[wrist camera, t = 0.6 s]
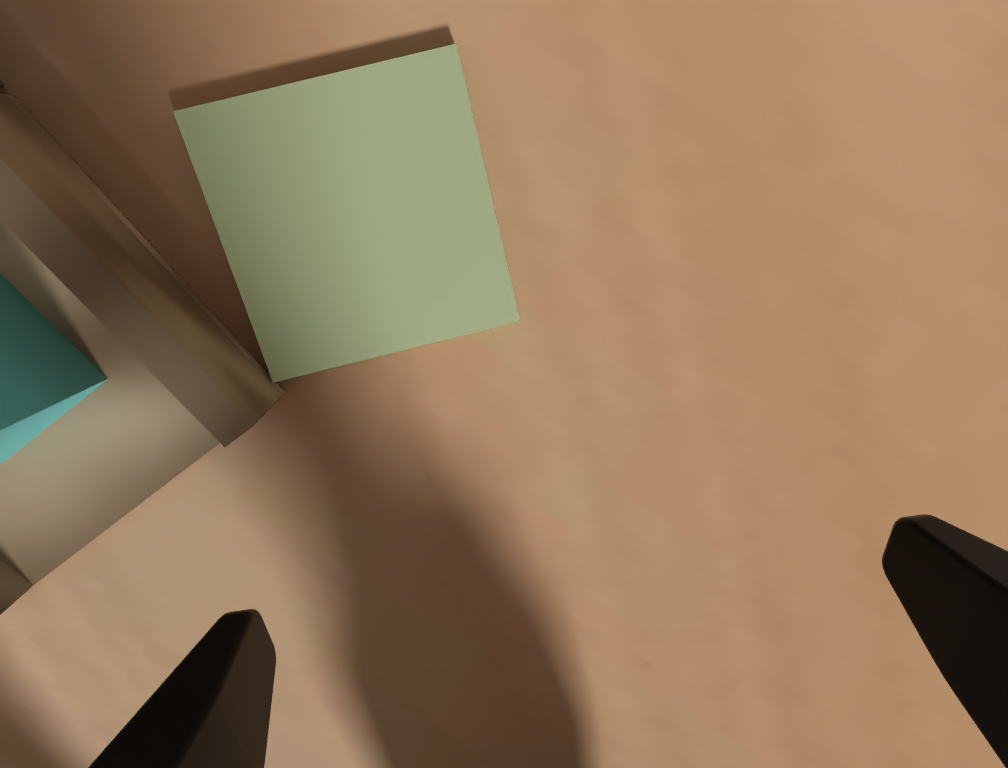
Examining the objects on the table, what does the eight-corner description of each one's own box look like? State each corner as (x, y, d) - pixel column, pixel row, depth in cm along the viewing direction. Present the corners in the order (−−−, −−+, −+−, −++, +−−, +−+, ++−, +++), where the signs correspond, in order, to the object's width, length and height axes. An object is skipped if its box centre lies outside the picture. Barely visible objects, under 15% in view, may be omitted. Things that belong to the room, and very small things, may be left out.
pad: (518, 318, 21) (520, 321, 21) (276, 379, 21) (273, 382, 21) (456, 47, 19) (456, 43, 18) (180, 113, 18) (172, 111, 18)
